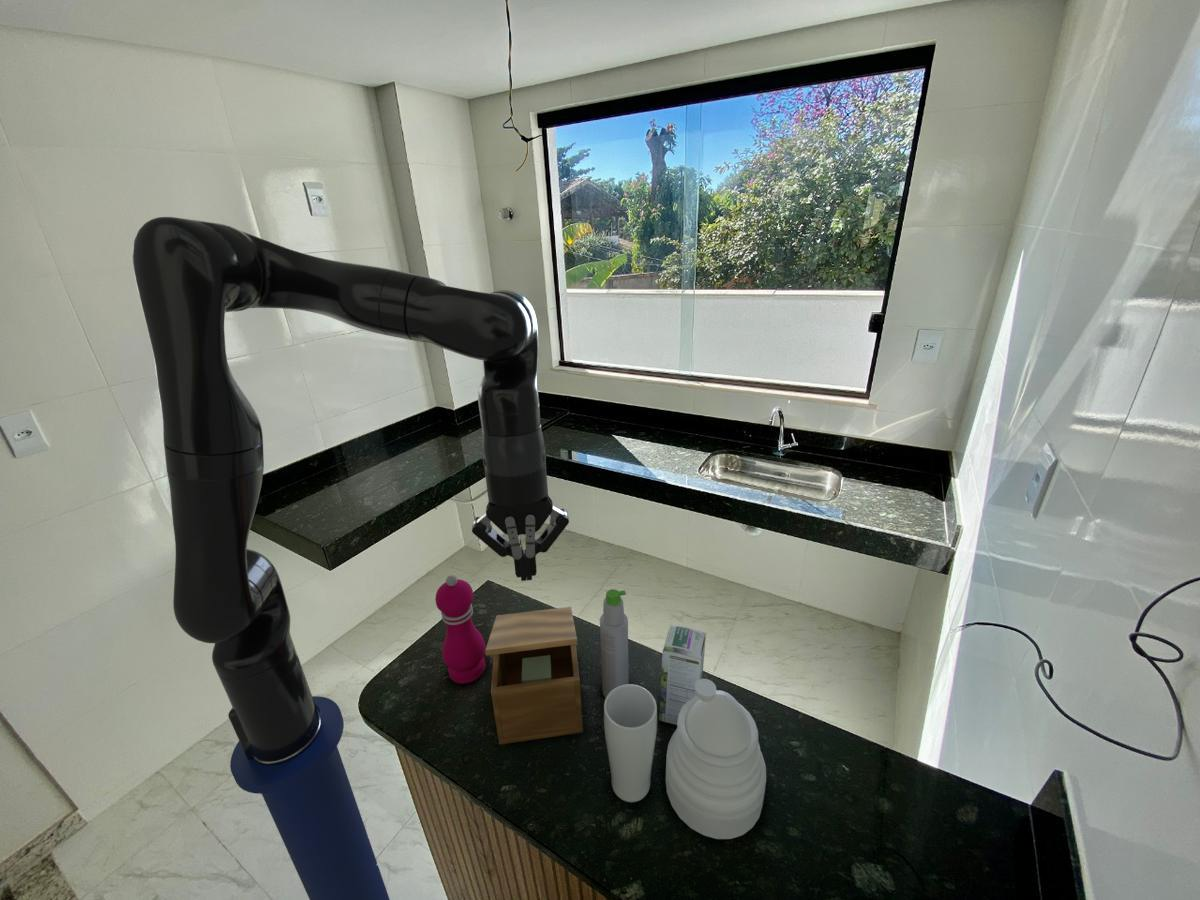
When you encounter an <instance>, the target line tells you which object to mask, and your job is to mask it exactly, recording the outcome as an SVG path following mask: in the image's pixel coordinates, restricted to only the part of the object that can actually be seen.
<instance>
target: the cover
mask: <svg viewBox="0 0 1200 900" xmlns="http://www.w3.org/2000/svg"><path fill="white" fill-rule="evenodd" d="M573 614H574V613H573V610H572V606H566V607H565V606H564V607H556V608H548V609H537V610H532V611H531V610H530V611H523V612H513V613H505V614H496V616H495V619H494V622H493V625H492V628H491V631H490V634H489V637H488V641H487V643H486V646H485V647H486V649H485V654H484V655H485V656H494V655H495V654H503V653H511V652H519V651H527V650H535V649H543V648H551V647H559V646H567V645H578V637H577V631H576V626H575V620H574V615H573Z"/></svg>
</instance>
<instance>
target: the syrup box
mask: <svg viewBox="0 0 1200 900" xmlns="http://www.w3.org/2000/svg"><path fill="white" fill-rule="evenodd" d="M706 638H707V632H705V631H702V630H699V629H695V628H691V627H686V626H682V625H676V624H675V625H674V624H670V625H669V627H668V631H667V633H666V639H665V642H664V644H663V648H662V652H661V671H660V689H659V690H660V691H659V712H658V720H659V721H660V722H663V723H668V724H672V725H676V726H677V721H678V715H679V712H680V710H681V708H682V706H683V705H684V704H685V703H686V702H687V701H688V700H690V699H692V698H694V697H695V696H697V695H696V692H695V683H696V682H697V681H698V680H700V679H703V673H704V662H705V653H706V652H705V651H706Z"/></svg>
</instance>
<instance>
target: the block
mask: <svg viewBox="0 0 1200 900" xmlns="http://www.w3.org/2000/svg"><path fill="white" fill-rule="evenodd" d="M551 679H552V669H551V658H550V655H546V656H538V657H530V658H522V683H529V682H536V681H544V680H551Z"/></svg>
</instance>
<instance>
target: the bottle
mask: <svg viewBox="0 0 1200 900" xmlns="http://www.w3.org/2000/svg"><path fill="white" fill-rule="evenodd" d="M625 595H627V592H626V590H618V589H615V588H612V589H611V588H610V589H609V590H607V591H606V593H605V597H604V599H603V604H602V605H603V606H602V614H601V615H600V617H599V636H600V659H601V661H600V663H601V665H600V666H601V687H602V689H601V690H602V695H603V697H604V698H605V699H606V697H607V695H608V694H609V693H610V692H611V691H612V690H613V689H614V688H616V687H618V686H621V685H626V684H630V683H629V681H630V680H629V678H630V677H629V620H628V616H627V615H626V613H625V608H624V599H623V598H622V597H621V596H625Z"/></svg>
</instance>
